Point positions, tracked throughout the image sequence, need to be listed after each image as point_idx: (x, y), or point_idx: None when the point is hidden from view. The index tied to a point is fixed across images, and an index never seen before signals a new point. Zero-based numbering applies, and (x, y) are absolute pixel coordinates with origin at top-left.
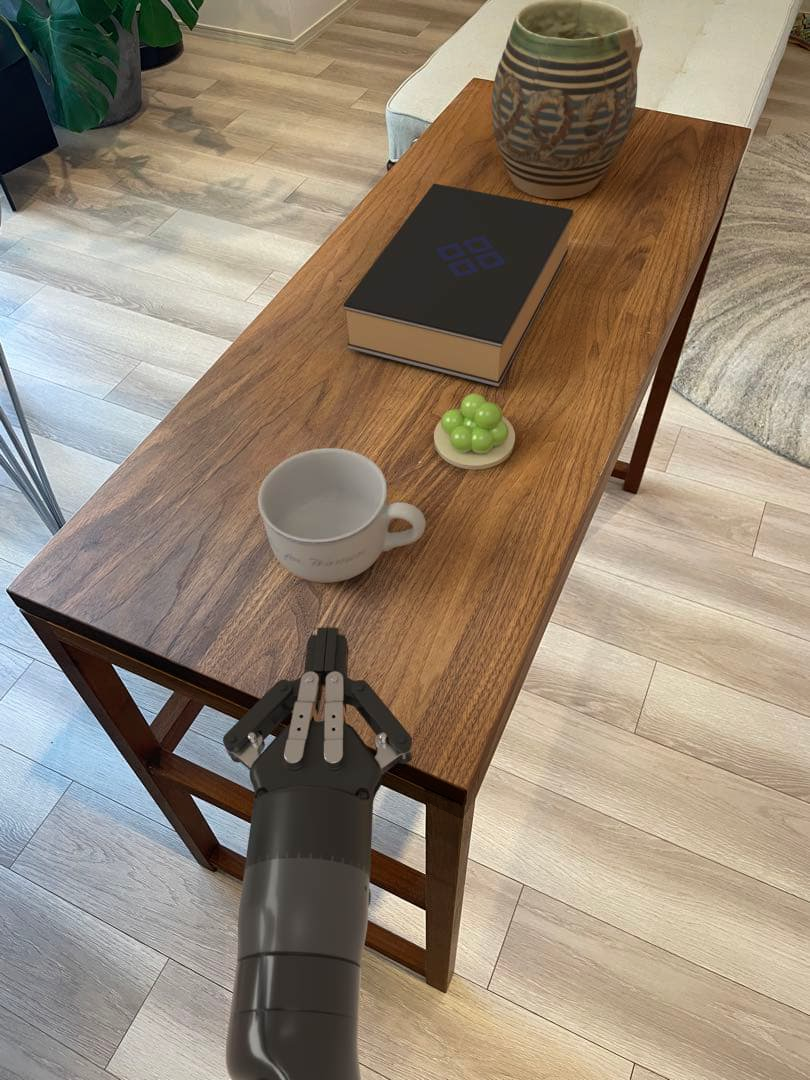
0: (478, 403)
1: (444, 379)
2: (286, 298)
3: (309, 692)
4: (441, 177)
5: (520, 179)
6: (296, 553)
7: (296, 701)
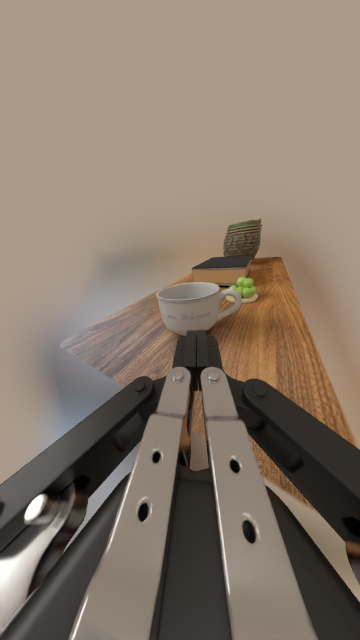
0: (244, 278)
1: (223, 288)
2: (175, 281)
3: (177, 396)
4: None
5: None
6: (173, 312)
7: (153, 413)
